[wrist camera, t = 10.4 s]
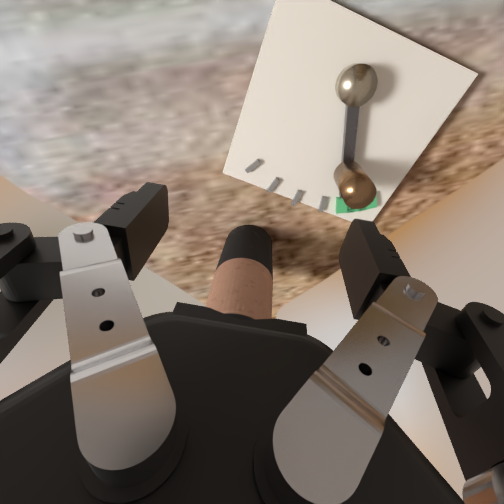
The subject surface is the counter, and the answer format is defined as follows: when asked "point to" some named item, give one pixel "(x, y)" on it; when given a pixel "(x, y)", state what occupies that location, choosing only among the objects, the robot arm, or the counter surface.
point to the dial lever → (354, 134)
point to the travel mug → (244, 275)
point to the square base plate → (337, 106)
